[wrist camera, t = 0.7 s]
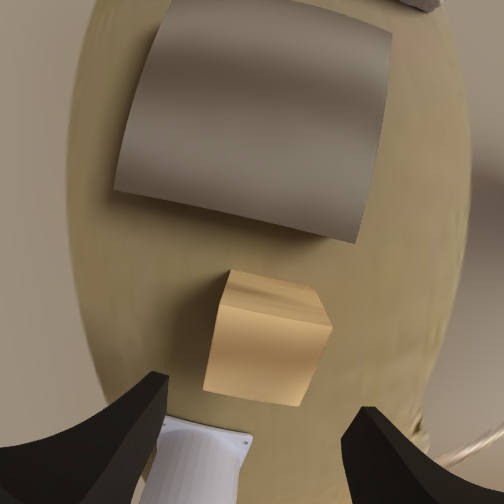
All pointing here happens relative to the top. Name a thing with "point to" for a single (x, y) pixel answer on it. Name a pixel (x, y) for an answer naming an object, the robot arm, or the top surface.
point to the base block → (260, 113)
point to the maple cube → (266, 340)
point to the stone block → (424, 4)
